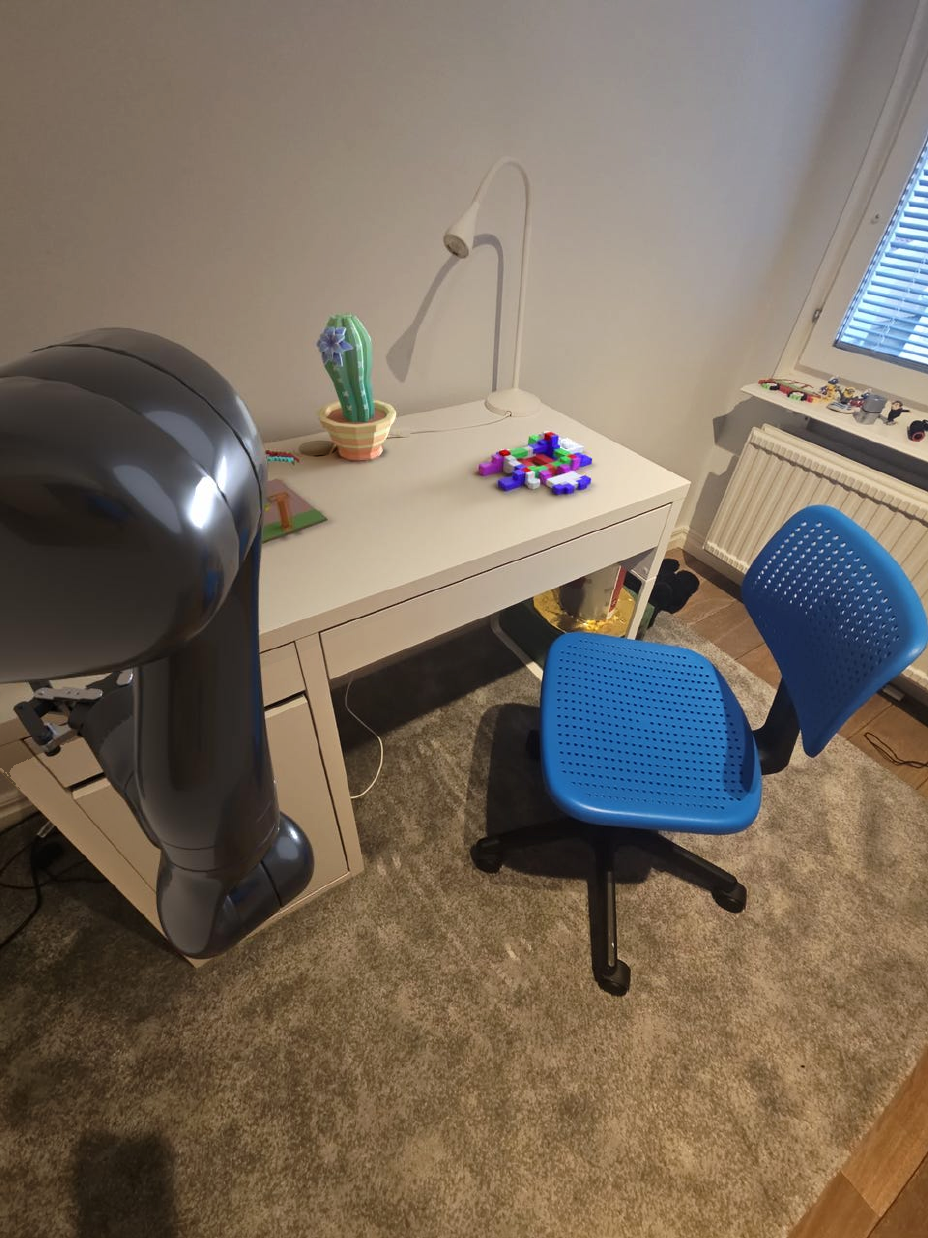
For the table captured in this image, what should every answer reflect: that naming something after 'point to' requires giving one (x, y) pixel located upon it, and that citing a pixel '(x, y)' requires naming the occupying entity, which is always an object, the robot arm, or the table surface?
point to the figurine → (286, 506)
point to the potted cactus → (352, 391)
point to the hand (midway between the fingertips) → (85, 653)
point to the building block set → (544, 454)
